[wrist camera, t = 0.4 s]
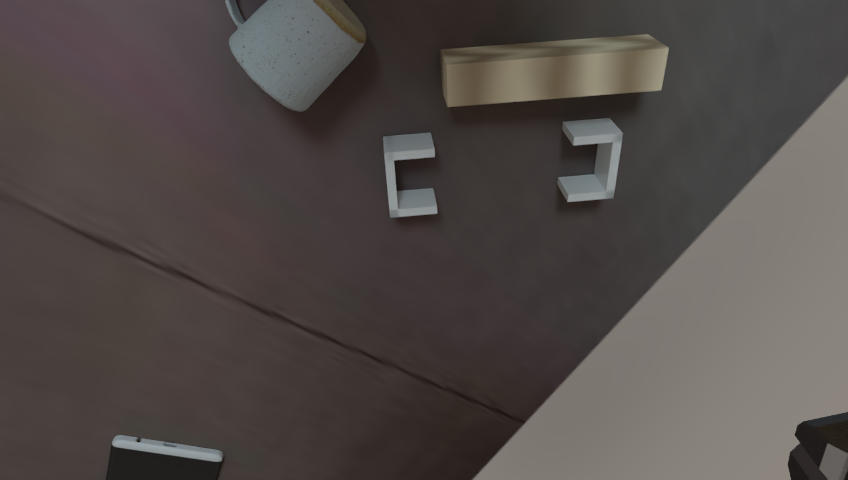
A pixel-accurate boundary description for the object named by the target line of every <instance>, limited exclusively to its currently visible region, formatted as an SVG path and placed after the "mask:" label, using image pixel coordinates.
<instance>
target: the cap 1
mask: <svg viewBox="0 0 848 480" xmlns="http://www.w3.org/2000/svg"><path fill="white" fill-rule="evenodd" d="M383 146H384V158H385V168H386V179H387V190H388V200H389V211H390V218H393V217H404V216H416V215H427V214H437V204H436V199H435V194H434V189H433V188H427V189H415V190H404V191H397V190H396V178H395V167H394V160H406V159H418V158H430V157H435V148H434V144H433V140H432V136H431V132H430V133H418V134H406V135H393V136H383Z"/></svg>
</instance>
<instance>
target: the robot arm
mask: <svg viewBox="0 0 848 480" xmlns="http://www.w3.org/2000/svg"><path fill="white" fill-rule="evenodd" d="M795 436H796V437H797V439H798V440H799V442H800V444H799V445H797V446H796V447H795V448H794V449H793V450H792V451H791V452H790V456H789V461H788V467H789V472H790V477H791V480H848V412H846V413H842V414H837V415H832V416H827V417H822V418H818V419H813V420H808V421H804V422H802V423H801V424H799V425H798V426H797V429H796V433H795Z"/></svg>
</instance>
